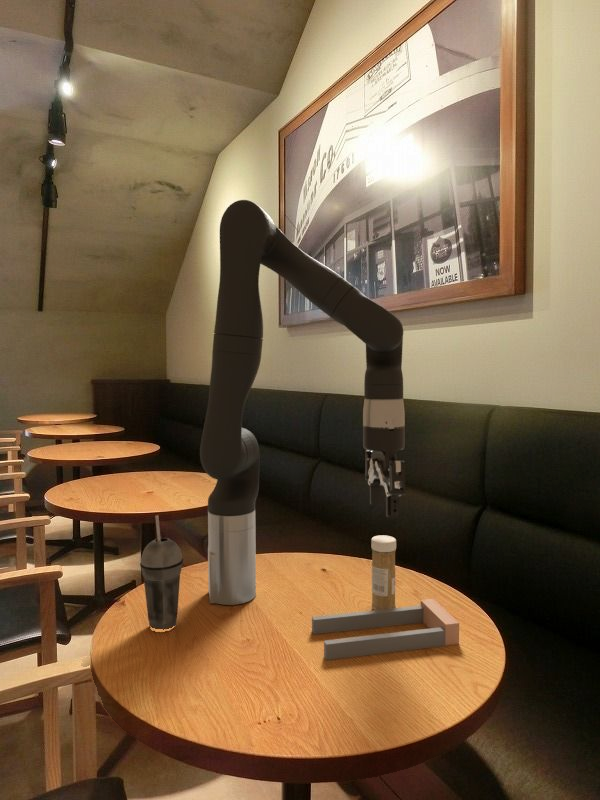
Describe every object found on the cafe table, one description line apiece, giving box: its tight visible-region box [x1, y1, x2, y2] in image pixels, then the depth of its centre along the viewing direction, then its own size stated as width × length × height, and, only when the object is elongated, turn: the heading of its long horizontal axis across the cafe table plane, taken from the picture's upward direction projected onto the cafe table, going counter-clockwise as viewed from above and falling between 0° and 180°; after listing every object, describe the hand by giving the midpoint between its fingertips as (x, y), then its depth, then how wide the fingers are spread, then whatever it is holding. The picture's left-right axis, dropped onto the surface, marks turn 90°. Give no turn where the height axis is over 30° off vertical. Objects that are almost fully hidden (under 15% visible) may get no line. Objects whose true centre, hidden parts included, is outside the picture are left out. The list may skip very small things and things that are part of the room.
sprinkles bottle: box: [370, 534, 397, 611], centre depth 100 cm, size 5×5×14 cm
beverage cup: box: [139, 514, 184, 630], centre depth 93 cm, size 7×7×20 cm
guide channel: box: [311, 598, 460, 661], centre depth 89 cm, size 22×9×4 cm, turn 102°
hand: (383, 510), depth 99 cm, fingers open, 8 cm apart
